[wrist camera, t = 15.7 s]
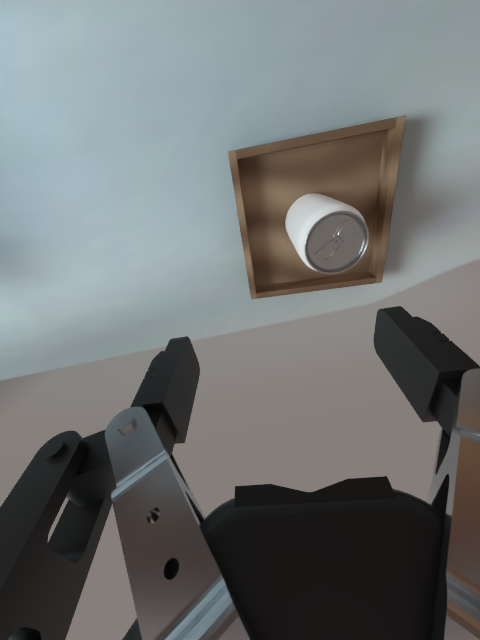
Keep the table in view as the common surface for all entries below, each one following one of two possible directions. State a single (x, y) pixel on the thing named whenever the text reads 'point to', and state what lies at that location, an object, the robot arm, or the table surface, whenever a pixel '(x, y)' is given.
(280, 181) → the tray
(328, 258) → the can
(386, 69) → the table surface
